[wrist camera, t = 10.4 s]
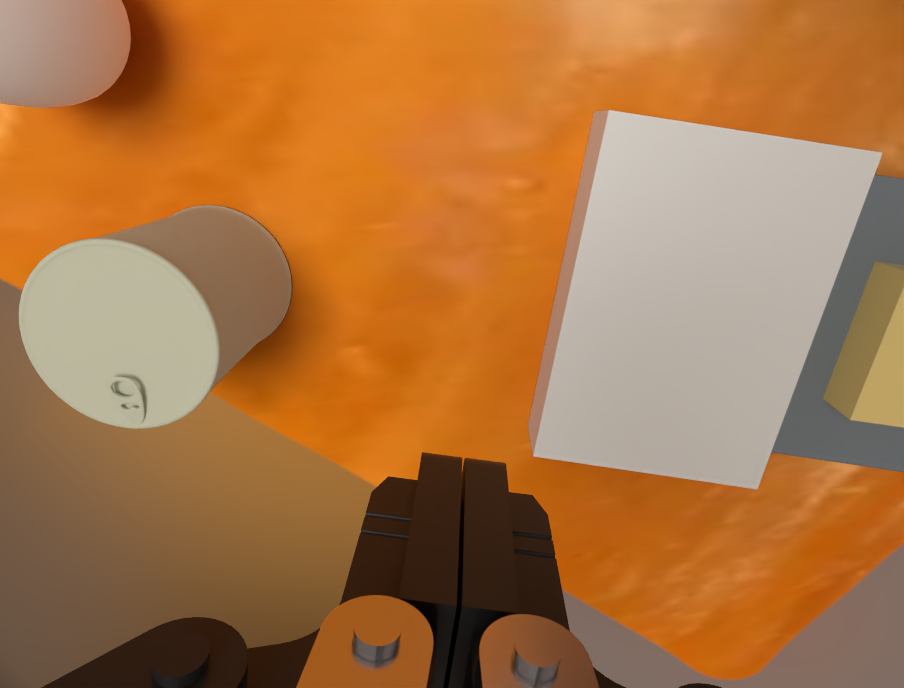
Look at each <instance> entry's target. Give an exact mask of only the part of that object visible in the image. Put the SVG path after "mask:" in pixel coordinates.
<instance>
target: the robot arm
mask: <svg viewBox="0 0 904 688" xmlns="http://www.w3.org/2000/svg"><path fill="white" fill-rule="evenodd" d="M461 476H462V477H461ZM551 538H552V535H551V530H550V524H549V519H548V515H547V513H546V512H545V511H544V509H543V508H542V507H541V506H540V504H539V503H538V502H537V500H536V499H535V498H534V497H533V495H527V494H519V493H511V492H509V491H508V480H507V469H506V464H505V463H500V462H493V461H485V460H477V459H470V458H465V460H464V465H463V471H462V458H461V457H454V456H446V455H438V454H431V453H423V452H422V456H421V462H420V468H419V475H418V480H411V479H404V478H396V477H387V478H386V479H385V480H384V481H383V482H382V483H381V484H380V485H379V486H378V487H377V488H376V489H374V490H373V491H372V493H371V497H370V500H369V504H368V507H367V511H366V516H365V518H364V521H363V525H362V528H361V534H360V536H359V539H358V543H357V546H356V550H355V553H354V557H353V561H352V564H351V568H350V571H349V575H348V579H347V582H346V586H345V589H344V593H343V596H342V600H341V602H340V605H339V606H338V607H336V608H335V609H334V610H333V611H332V612H331V613H330V614H329V615H328V616H327V617H326V619H325V620H324V622H323V624H322V626H321V628H319V629H318V630H316V631H315V632H313V633H311V634H309V635H307V636H305V637H303V638H300V639H297V640H294V641H291V642H286V643H282V644H276V645H269V646H262V647H256V648H249V649H247V646H246V644H245V642H244V639H243V638H242V636H241V635H240V634H239V632H238V631H236V630H235V629H234V628H233V627H232V626H230V625H228V624H226V623H224V622H222V621H218V620H216V619H211V618H203V617H192V618H183V619H178V620H173V621H170V622H167V623H164V624H162V625H159V626H157V627H155V628H153V629H151V630H149V631H147V632H145V633H143V634H142V635H140V636H138V637H136V638H134V639H132V640H130V641H128V642H126V643H124V644H122V645H121V646H119V647H117V648H115V649H113V650H111V651H109V652H108V653H106V654H104V655H102V656H100V657H98V658H96V659H94V660H93V661H91V662H89V663H87V664H85V665H83V666H81V667H79V668H78V669H76V670H74V671H72V672H70V673H68V674H66V675H64V676H63V677H61V678H59V679H57V680H55V681H53V682H51V683H49V684H47V685H45V686H44V687H42V688H626V687H623V686H621V685H619V684H617V683H615V682H613V681H612V680H610V679H609V678H607V677H605V676H604V675H603V674H601V673H600V672H599V671H597V670H596V669H595V668H594V667H593V665H592V662H591V660H590V657H589V655H588V653H587V651H586V649H585V648H584V646H583V645H582V643H581V642H580V641H579V640H578V639H577V638H576V637H575V636H574V635H573V634H572V633H571V632H570V630H569V625H568V620H567V614H566V609H565V604H564V598H563V593H562V588H561V583H560V577H559V572H558V567H557V561H556V559H555V551H554V545H553V541H552V540H551ZM679 688H721V687H718V686H714V685H710V684H701V683H696V684H687V685H684V686H681V687H679Z"/></svg>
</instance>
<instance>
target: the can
mask: <svg viewBox="0 0 904 688" xmlns="http://www.w3.org/2000/svg"><path fill="white" fill-rule="evenodd" d="M291 292H292V282H291V274H290V269H289V266H288V262H287V260H286V257H285V255H284V253H283V251H282V249H281V247H280V246H279V244H278V243H277V241H276V240H275V238H274V237H273V236H272V235H271V234H270V233H269V232H268V231H267V230H266V229H265V228H264V227H263V226H262V225H261V224H260V223H258V222H257V221H256V220H254V219H253V218H251V217H249V216H248V215H246V214H244V213H241V212H239V211H237V210H234V209H231V208H227V207H223V206H216V205H201V206H194V207H190V208H187V209H184V210H182V211H179V212H177V213H175V214H174V215H172V216H170V217H167V218H164V219H161V220H158V221H155V222H151V223H148V224H144V225H141V226H137V227H134V228H130V229H127V230H123V231H120V232H116V233H113V234H109V235H105V236H101V237H97V238H92V239H85V240H79V241H76V242H72V243H69V244H67V245H64V246H62V247H60V248H58V249H56V250H55V251H53V252H51V253H50V254H48V255H47V256H46V257H45V258H44V259H43V260H42V261H41V262H39V263H38V265H37V266H36V267H35V268H34V270H33V271H32V272H31V274H30V276H29V277H28V279H27V281H26V283H25V286H24V288H23V291H22V295H21V299H20V306H19V324H20V331H21V337H22V340H23V344H24V346H25V349H26V352H27V354H28V356H29V359H30V361H31V362H32V364H33V366H34V368H35V369H36V371H37V372H38V374H39V375H40V377H41V378H42V379H43V381H44V382H45V383H46V384H47V385H48V387H49V388H50V389H51V390H52V391H53V392H54V393H55V394H56V395H57V396H58V397H60V398H61V399H62V400H63V401H65V402H66V403H67V404H68V405H70V406H71V407H73V408H75V409H76V410H78V411H79V412H81V413H83V414H85V415H87V416H88V417H90V418H93V419H95V420H98V421H100V422H103V423H106V424H110V425H114V426H119V427H125V428H135V429H136V428H137V429H140V428H153V427H158V426H163V425H166V424H169V423H172V422H174V421H177V420H179V419H181V418H182V417H184V416H186V415H187V414H189V413H190V412H192V411H193V410H194V409H195V408H196V407H198V406H199V404H200V403H201V402H202V401H203V400H204V399H205V398H206V396H207V395H208V394H209V392H210V391H211V390H212V389H213V388H214V386H215V385H216V384H217V383H218V382H219V381H220V380H221V379H222V378H223V377H224V376H225V375H226V374H227V373H228V372H229V371H230V370H231V369H232V368H233V367H234V366H235V365H236V364H237V363H238V362H239V361H240V360H241V359H242V358H243V357H244V356H245V355H246V354H247V353H248V352H249V351H250V350H251V349H252V348H253V347H254V346H255V345H256V344H257V343H258V342H260V341H262V340H263V339H265V338H266V337H267V336H269V335H270V334H271V333H272V332H273V331H274V330H275V329H276V328H277V327H278V326H279V325H280V323H281V322H282V320H283V318H284V317H285V315H286V312H287V310H288V307H289V304H290V299H291Z"/></svg>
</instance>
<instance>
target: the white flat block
mask: <svg viewBox="0 0 904 688" xmlns="http://www.w3.org/2000/svg"><path fill="white" fill-rule="evenodd" d="M881 156H882V153H881V152H874V151H868V150H862V149H855V148H849V147H842V146H836V145H830V144H823V143H817V142H810V141H804V140H798V139H791V138H785V137H778V136H772V135H765V134H759V133H753V132H746V131H740V130H733V129H727V128H721V127H714V126H708V125H701V124H695V123H689V122H682V121H676V120H669V119H663V118H657V117H650V116H644V115H637V114H631V113H624V112H618V111H612V110H605V111H597V112H594V115H593V120H592V124H591V129H590V134H589V139H588V143H587V148H586V153H585V157H584V162H583V167H582V172H581V176H580V181H579V186H578V191H577V195H576V200H575V205H574V210H573V214H572V219H571V224H570V228H569V233H568V238H567V243H566V247H565V252H564V257H563V262H562V266H561V271H560V276H559V280H558V285H557V290H556V295H555V299H554V304H553V309H552V314H551V318H550V323H549V328H548V333H547V337H546V342H545V347H544V351H543V356H542V361H541V366H540V370H539V375H538V380H537V385H536V389H535V394H534V399H533V404H532V408H531V413H530V418H529V422H528V430H529V436H530V442H531V447H532V453H533V456H534V457H541V458H547V459H554V460H561V461H568V462H575V463H581V464H588V465H595V466H602V467H609V468H615V469H622V470H629V471H636V472H643V473H649V474H656V475H663V476H670V477H677V478H683V479H690V480H697V481H704V482H711V483H717V484H724V485H731V486H738V487H745V488H751V489H758V486H759V484H760V481H761V478H762V475H763V473H764V470H765V467H766V465H767V462H768V459H769V457H770V454H771V451H772V449H773V446H774V443H775V441H776V438H777V435H778V433H779V430H780V427H781V424H782V422H783V419H784V416H785V414H786V411H787V408H788V406H789V403H790V400H791V398H792V395H793V392H794V390H795V387H796V384H797V381H798V379H799V376H800V373H801V371H802V368H803V365H804V363H805V360H806V357H807V355H808V352H809V349H810V347H811V344H812V341H813V338H814V336H815V333H816V330H817V328H818V325H819V322H820V320H821V317H822V314H823V312H824V309H825V306H826V304H827V301H828V298H829V296H830V293H831V290H832V287H833V285H834V282H835V279H836V277H837V274H838V271H839V269H840V266H841V263H842V261H843V258H844V255H845V253H846V250H847V247H848V244H849V242H850V239H851V236H852V234H853V231H854V228H855V226H856V223H857V220H858V218H859V215H860V212H861V210H862V207H863V204H864V202H865V199H866V196H867V193H868V191H869V188H870V185H871V183H872V180H873V177H874V175H875V172H876V169H877V167H878V164H879V161H880V159H881Z"/></svg>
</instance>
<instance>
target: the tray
mask: <svg viewBox="0 0 904 688" xmlns="http://www.w3.org/2000/svg"><path fill="white" fill-rule="evenodd" d="M875 261H877V262H884V263H891V264H898V265H904V179H900V178H894V177H887V176H881V175H874V177H873V180H872V183H871V185H870V188H869V191H868V193H867V196H866V199H865V202H864V204H863V207H862V210H861V212H860V215H859V218H858V220H857V223H856V226H855V228H854V231H853V234H852V236H851V239H850V242H849V244H848V247H847V250H846V253H845V255H844V258H843V261H842V263H841V266H840V269H839V271H838V274H837V277H836V279H835V282H834V285H833V287H832V290H831V293H830V296H829V298H828V301H827V304H826V306H825V309H824V312H823V314H822V317H821V320H820V322H819V325H818V328H817V330H816V333H815V336H814V338H813V341H812V344H811V347H810V349H809V352H808V355H807V357H806V360H805V363H804V365H803V368H802V371H801V373H800V376H799V379H798V381H797V384H796V387H795V390H794V392H793V395H792V398H791V400H790V403H789V406H788V408H787V411H786V414H785V416H784V419H783V422H782V424H781V427H780V430H779V433H778V435H777V438H776V441H775V443H774V446H773V449H772V451H771V452H772V453H779V454H786V455H792V456H799V457H806V458H813V459H820V460H826V461H833V462H840V463H847V464H853V465H860V466H867V467H874V468H880V469H887V470H894V471H901V472H904V428H903V427H896V426H889V425H882V424H875V423H868V422H861V421H854V420H849V419H848V418H847V417H846V416H844V415H843V414H842V413H840V412H839V411H838V410H837V409H835V408H834V407H833V406H831V405H830V404H829V403H828V402H826V401H825V400H824V399H823V396H824V394H825V391H826V389H827V386H828V383H829V381H830V378H831V375H832V373H833V370H834V368H835V365H836V362H837V360H838V357H839V355H840V352H841V349H842V347H843V344H844V341H845V339H846V336H847V334H848V331H849V328H850V326H851V323H852V321H853V318H854V315H855V313H856V310H857V307H858V305H859V302H860V300H861V297H862V294H863V292H864V289H865V287H866V284H867V281H868V279H869V276H870V273H871V271H872V268H873V266H874V263H875Z"/></svg>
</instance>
